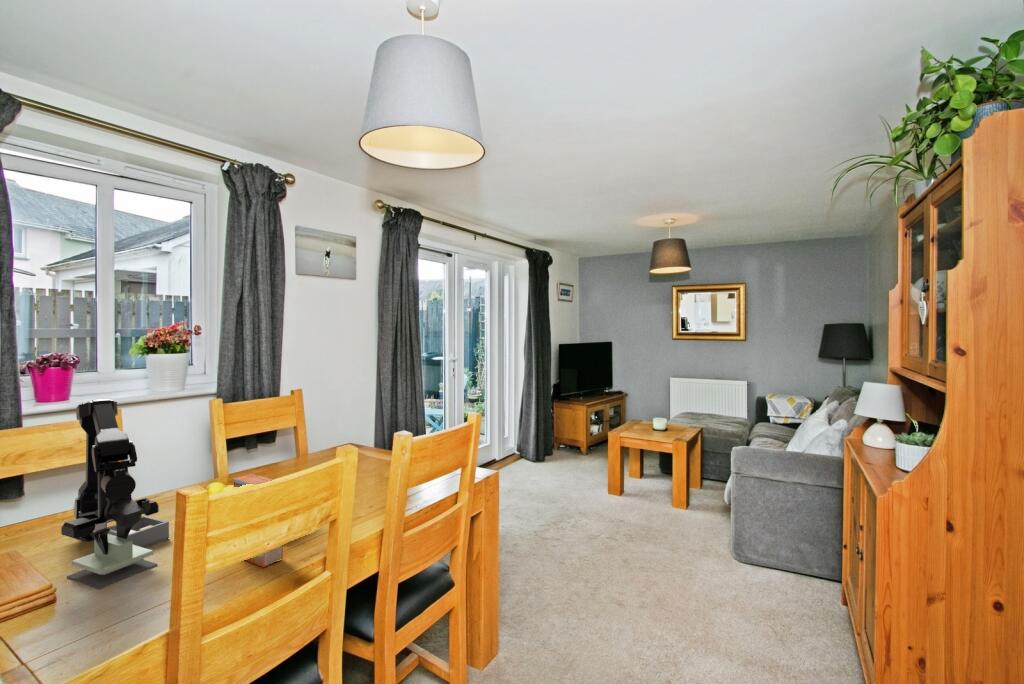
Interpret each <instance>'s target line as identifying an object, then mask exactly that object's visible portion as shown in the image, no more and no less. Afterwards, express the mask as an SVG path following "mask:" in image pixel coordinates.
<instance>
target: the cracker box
mask: <svg viewBox="0 0 1024 684" xmlns="http://www.w3.org/2000/svg"><path fill="white" fill-rule="evenodd" d="M272 480H275V479H274V478H270V477H266V476H262V475H258V474H256V473H250V474H246V475H242V476H238V477H234V478H233V488H234V487H240V486H242V485H246V484H261V483H265V482H268V481H272ZM283 557H284V545H283V546H280V547H278V548H276V549H273V550H270V551H268V552H266V553H263V554H260V555H258V556H256V557H253V558H250V559H248V560H246V561H247V562H250V563H252V564H255V565H257V566H259V567H261V566H262V567H261V568H266V567H268V566H270V565H269V564H271V565H273V564H275V563H274V562H276V561H277V560H280V559H282V558H283ZM283 559H284V558H283ZM272 563H273V564H272ZM276 563H277V562H276ZM267 565H268V566H267ZM265 566H266V567H265Z"/></svg>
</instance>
